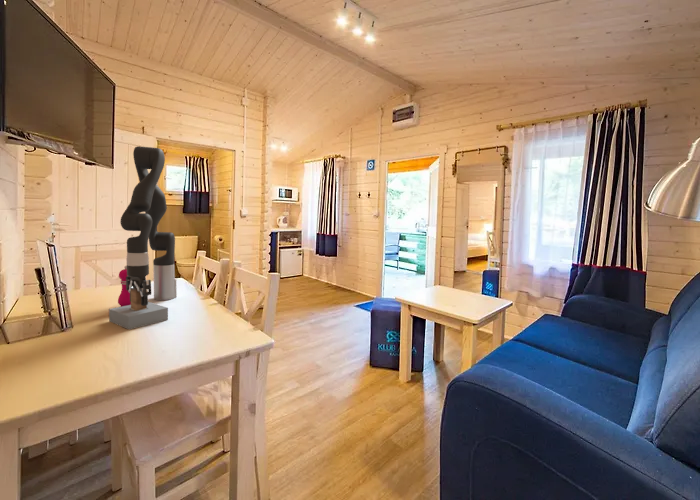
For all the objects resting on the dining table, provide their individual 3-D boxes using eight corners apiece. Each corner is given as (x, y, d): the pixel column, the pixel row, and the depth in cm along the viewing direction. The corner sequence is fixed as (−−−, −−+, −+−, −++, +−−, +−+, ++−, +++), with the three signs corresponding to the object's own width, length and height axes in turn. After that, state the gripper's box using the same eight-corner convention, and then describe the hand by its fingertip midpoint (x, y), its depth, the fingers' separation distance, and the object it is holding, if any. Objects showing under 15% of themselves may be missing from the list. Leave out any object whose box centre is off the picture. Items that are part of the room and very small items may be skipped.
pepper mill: (122, 313, 146) (120, 267, 144) (115, 310, 150) (114, 265, 148) (140, 310, 152) (139, 265, 149) (133, 307, 156) (132, 263, 154)
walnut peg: (141, 315, 142) (141, 287, 140) (147, 317, 139) (146, 288, 138) (131, 318, 138) (130, 289, 137) (136, 320, 136) (135, 290, 135)
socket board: (148, 312, 149) (147, 301, 148) (167, 319, 141) (167, 307, 141) (109, 321, 136) (108, 309, 136) (129, 329, 129) (128, 316, 128)
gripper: (157, 264, 136) (158, 304, 138) (138, 260, 143) (139, 298, 145) (137, 266, 129) (138, 308, 131) (118, 262, 137) (119, 302, 138)
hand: (138, 303), depth 138 cm, fingers open, 8 cm apart
